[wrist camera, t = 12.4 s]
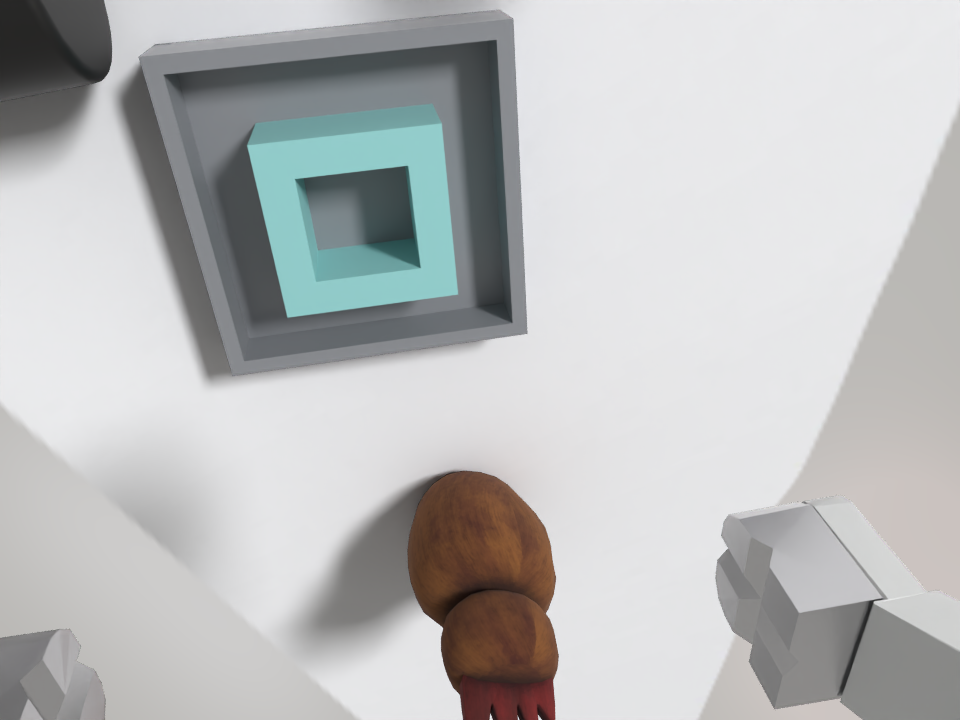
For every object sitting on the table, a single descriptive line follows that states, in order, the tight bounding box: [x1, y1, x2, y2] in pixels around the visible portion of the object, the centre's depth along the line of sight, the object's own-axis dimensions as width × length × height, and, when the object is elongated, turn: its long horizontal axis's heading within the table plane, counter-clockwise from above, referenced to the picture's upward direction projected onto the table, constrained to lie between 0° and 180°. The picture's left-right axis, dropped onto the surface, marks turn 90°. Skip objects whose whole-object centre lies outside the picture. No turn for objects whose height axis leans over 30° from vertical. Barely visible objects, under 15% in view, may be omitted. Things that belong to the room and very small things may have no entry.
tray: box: [139, 10, 527, 376], centre depth 29 cm, size 12×12×2 cm
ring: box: [247, 104, 458, 318], centre depth 28 cm, size 6×6×3 cm
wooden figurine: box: [408, 471, 559, 720], centre depth 33 cm, size 7×6×15 cm
